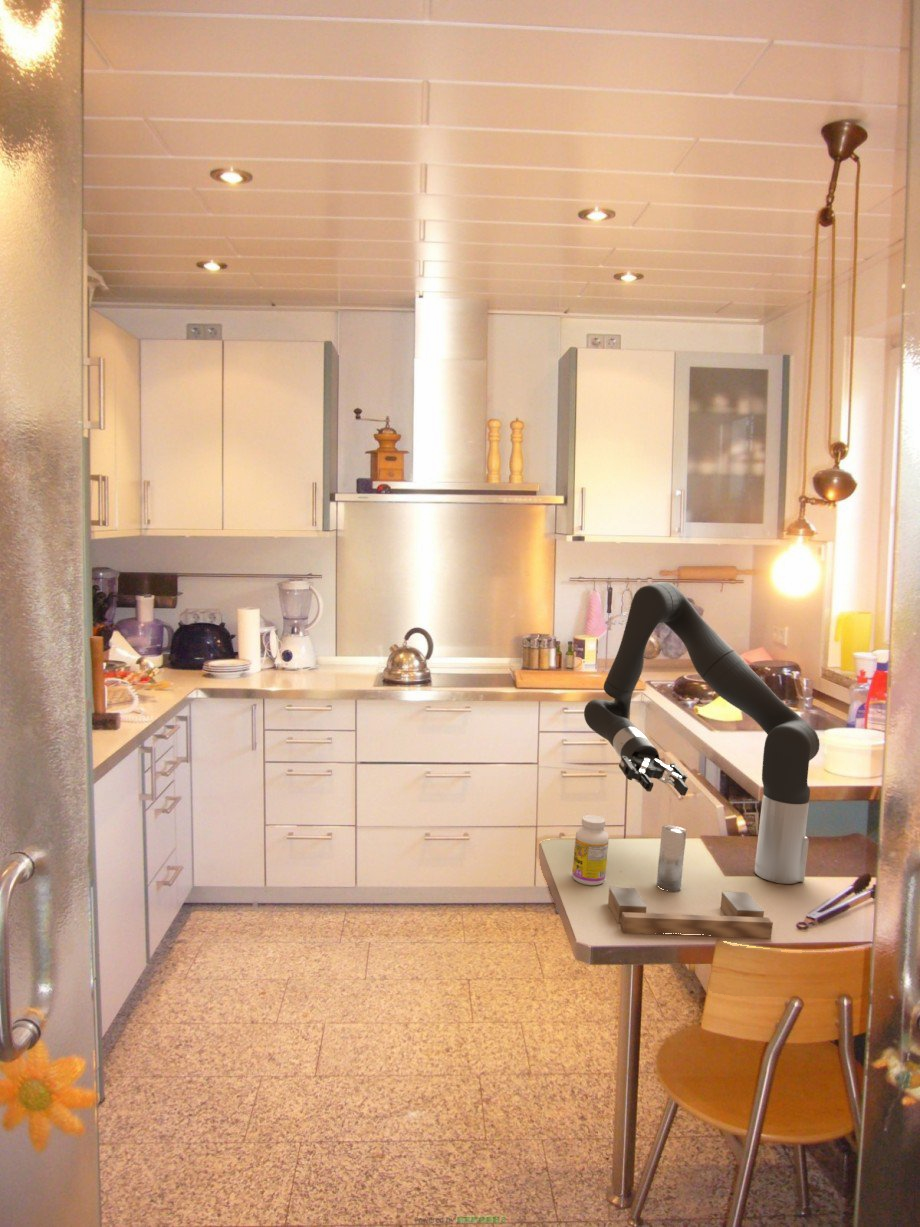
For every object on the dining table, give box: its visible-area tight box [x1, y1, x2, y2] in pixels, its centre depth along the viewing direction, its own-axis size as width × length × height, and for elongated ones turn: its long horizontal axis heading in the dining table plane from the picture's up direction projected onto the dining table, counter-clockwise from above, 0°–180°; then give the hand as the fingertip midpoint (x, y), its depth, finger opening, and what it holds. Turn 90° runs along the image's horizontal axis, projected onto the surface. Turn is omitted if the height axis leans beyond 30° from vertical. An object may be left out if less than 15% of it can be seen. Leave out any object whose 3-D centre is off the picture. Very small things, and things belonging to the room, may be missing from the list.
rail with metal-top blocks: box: [607, 886, 774, 939], centre depth 166 cm, size 27×12×3 cm, turn 94°
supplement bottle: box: [572, 814, 610, 886], centre depth 181 cm, size 7×7×13 cm
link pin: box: [656, 824, 687, 892], centre depth 181 cm, size 5×5×12 cm
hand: (668, 790), depth 189 cm, fingers open, 8 cm apart
